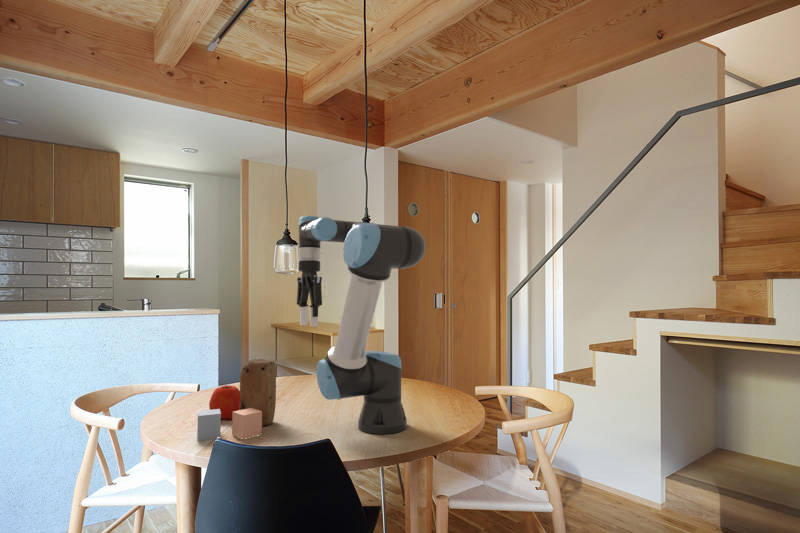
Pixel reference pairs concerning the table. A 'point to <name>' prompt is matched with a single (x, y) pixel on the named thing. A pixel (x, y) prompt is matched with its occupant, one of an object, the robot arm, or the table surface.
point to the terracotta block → (246, 423)
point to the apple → (225, 401)
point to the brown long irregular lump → (259, 388)
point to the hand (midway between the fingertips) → (308, 325)
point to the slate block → (209, 424)
